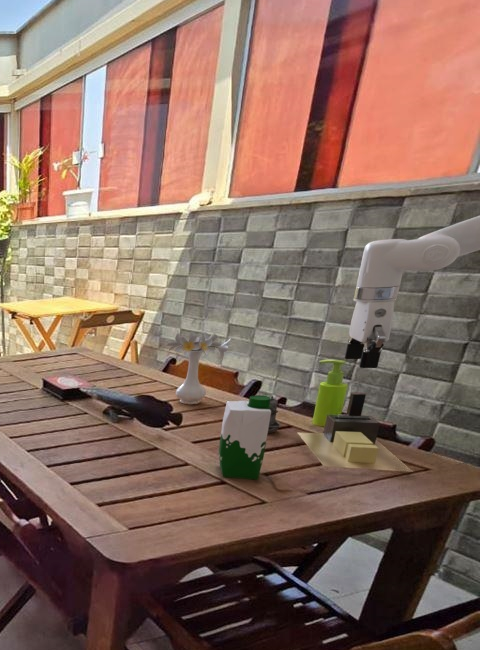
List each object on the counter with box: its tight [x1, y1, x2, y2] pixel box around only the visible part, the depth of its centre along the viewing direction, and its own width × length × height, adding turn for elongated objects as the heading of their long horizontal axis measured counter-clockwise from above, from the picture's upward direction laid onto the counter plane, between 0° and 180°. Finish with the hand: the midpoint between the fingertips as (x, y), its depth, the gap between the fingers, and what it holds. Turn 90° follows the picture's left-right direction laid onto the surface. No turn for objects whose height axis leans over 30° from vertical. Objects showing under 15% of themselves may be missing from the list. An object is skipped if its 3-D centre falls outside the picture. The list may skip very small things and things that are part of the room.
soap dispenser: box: [311, 358, 349, 428], centre depth 141 cm, size 6×7×20 cm
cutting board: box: [297, 432, 414, 473], centre depth 127 cm, size 16×24×1 cm, turn 154°
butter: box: [333, 431, 373, 457], centre depth 125 cm, size 5×8×4 cm, turn 154°
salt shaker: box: [268, 395, 281, 434], centre depth 141 cm, size 6×6×12 cm
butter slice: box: [345, 444, 379, 463], centre depth 120 cm, size 5×2×4 cm, turn 64°
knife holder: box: [322, 414, 381, 444], centre depth 131 cm, size 9×6×6 cm, turn 64°
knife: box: [338, 391, 370, 420], centre depth 130 cm, size 6×2×13 cm, turn 64°
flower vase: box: [167, 331, 232, 405], centre depth 173 cm, size 13×18×25 cm
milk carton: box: [218, 394, 271, 481], centre depth 121 cm, size 9×9×20 cm
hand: (360, 363), depth 124 cm, fingers open, 9 cm apart
